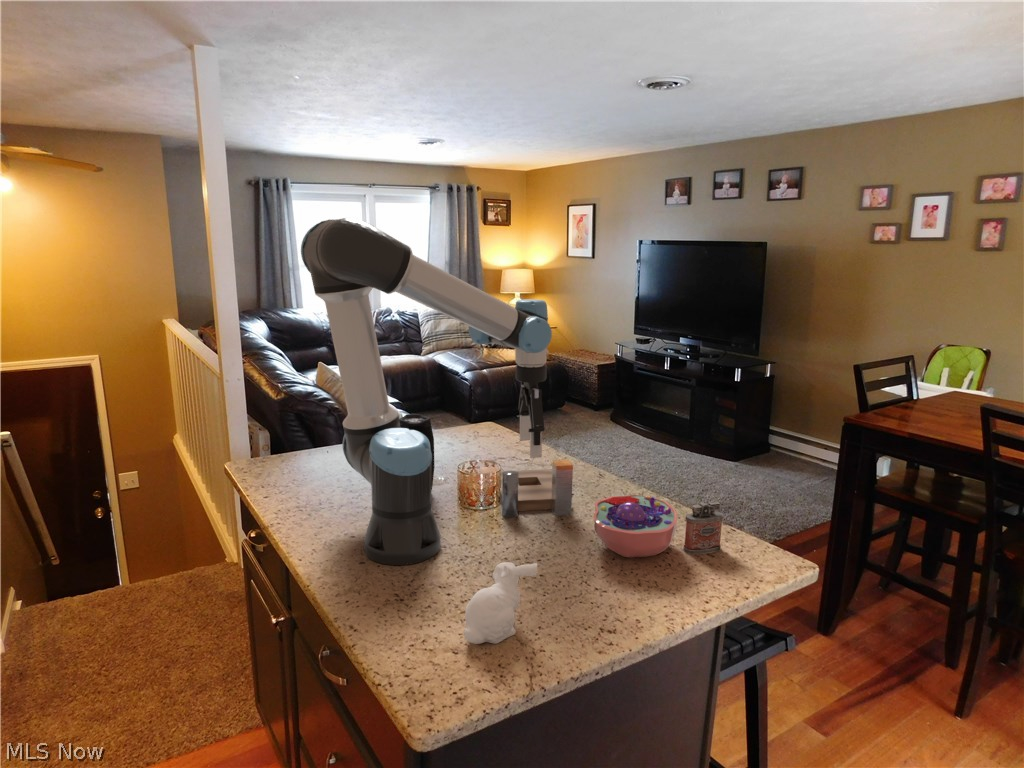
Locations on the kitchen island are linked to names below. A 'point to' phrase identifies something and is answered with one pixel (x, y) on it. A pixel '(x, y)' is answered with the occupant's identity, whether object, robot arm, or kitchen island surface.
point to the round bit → (510, 494)
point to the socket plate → (533, 489)
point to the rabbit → (496, 605)
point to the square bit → (561, 487)
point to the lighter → (703, 529)
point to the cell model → (635, 524)
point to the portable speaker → (423, 426)
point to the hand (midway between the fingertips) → (530, 448)
